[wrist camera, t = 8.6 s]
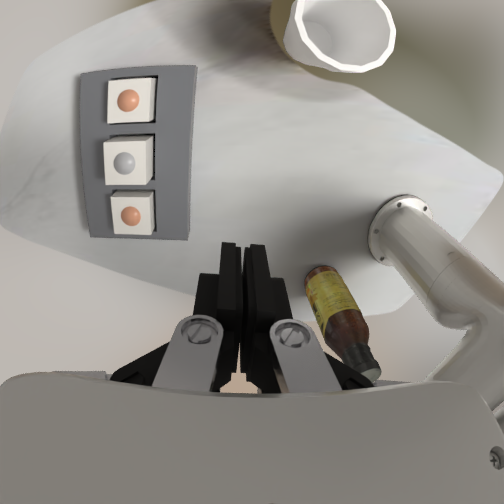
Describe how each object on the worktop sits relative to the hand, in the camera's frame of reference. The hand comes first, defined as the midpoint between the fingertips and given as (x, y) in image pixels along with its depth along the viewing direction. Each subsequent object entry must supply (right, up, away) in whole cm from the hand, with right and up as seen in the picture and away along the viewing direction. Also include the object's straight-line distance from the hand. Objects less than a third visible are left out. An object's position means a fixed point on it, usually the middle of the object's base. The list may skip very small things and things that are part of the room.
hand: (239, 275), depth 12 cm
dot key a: (-15, +7, +26) cm, 30 cm away
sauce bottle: (+12, -4, +36) cm, 38 cm away
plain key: (-14, +13, +21) cm, 28 cm away
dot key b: (-13, +19, +19) cm, 30 cm away
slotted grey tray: (-14, +14, +23) cm, 30 cm away
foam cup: (+7, +27, +17) cm, 33 cm away
